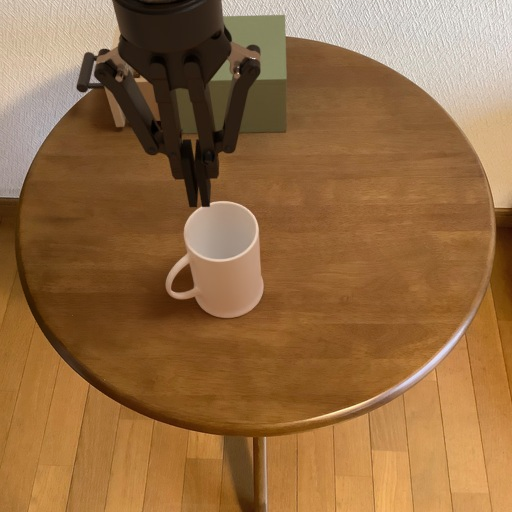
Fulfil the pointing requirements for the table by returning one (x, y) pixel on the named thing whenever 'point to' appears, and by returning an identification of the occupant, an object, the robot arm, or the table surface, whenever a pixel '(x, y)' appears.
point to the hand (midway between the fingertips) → (200, 196)
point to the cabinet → (262, 90)
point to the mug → (222, 260)
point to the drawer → (115, 108)
